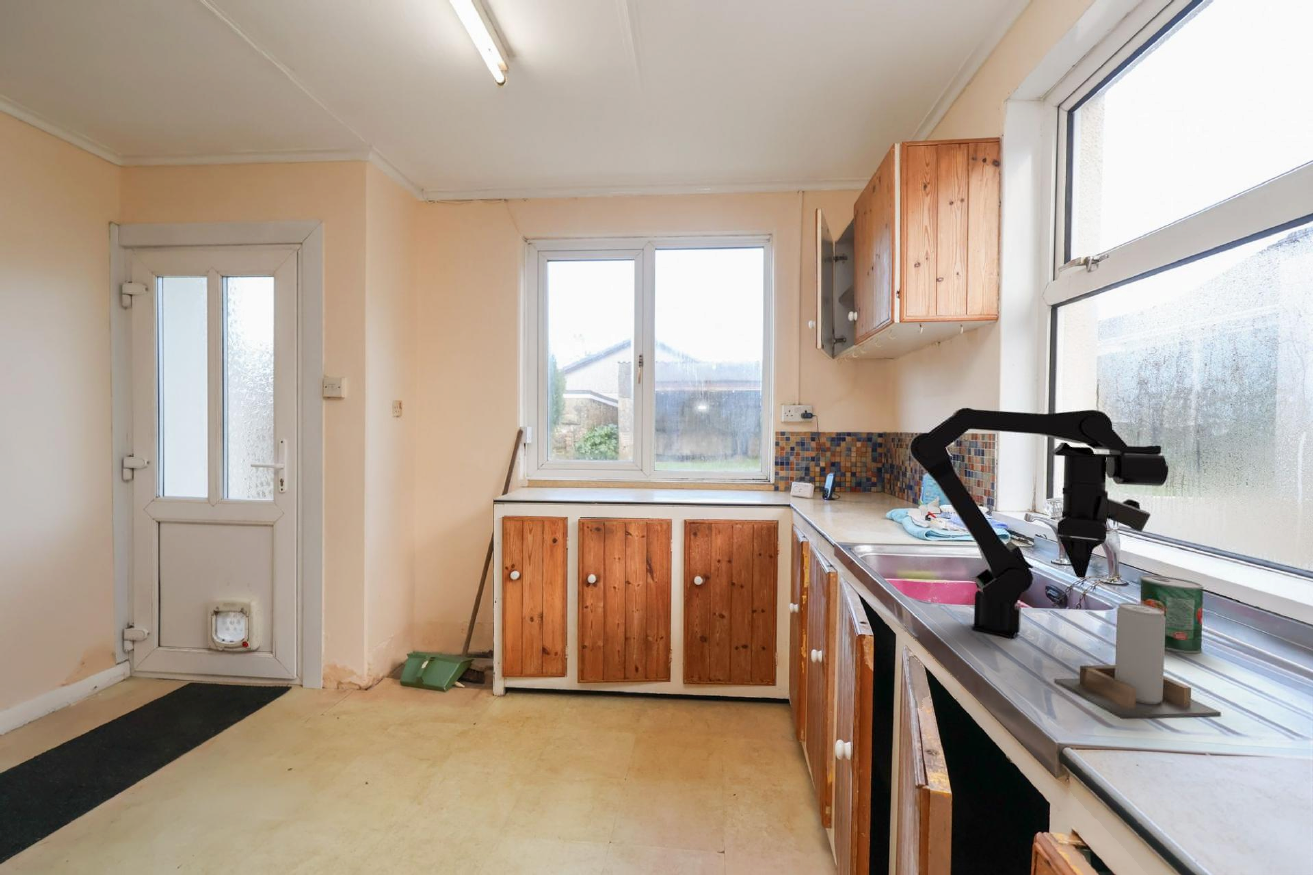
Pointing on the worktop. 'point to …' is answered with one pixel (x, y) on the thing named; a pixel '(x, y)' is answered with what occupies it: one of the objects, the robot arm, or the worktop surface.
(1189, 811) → the worktop surface
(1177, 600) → the canned tomato
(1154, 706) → the keeper
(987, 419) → the robot arm
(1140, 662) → the beverage can
